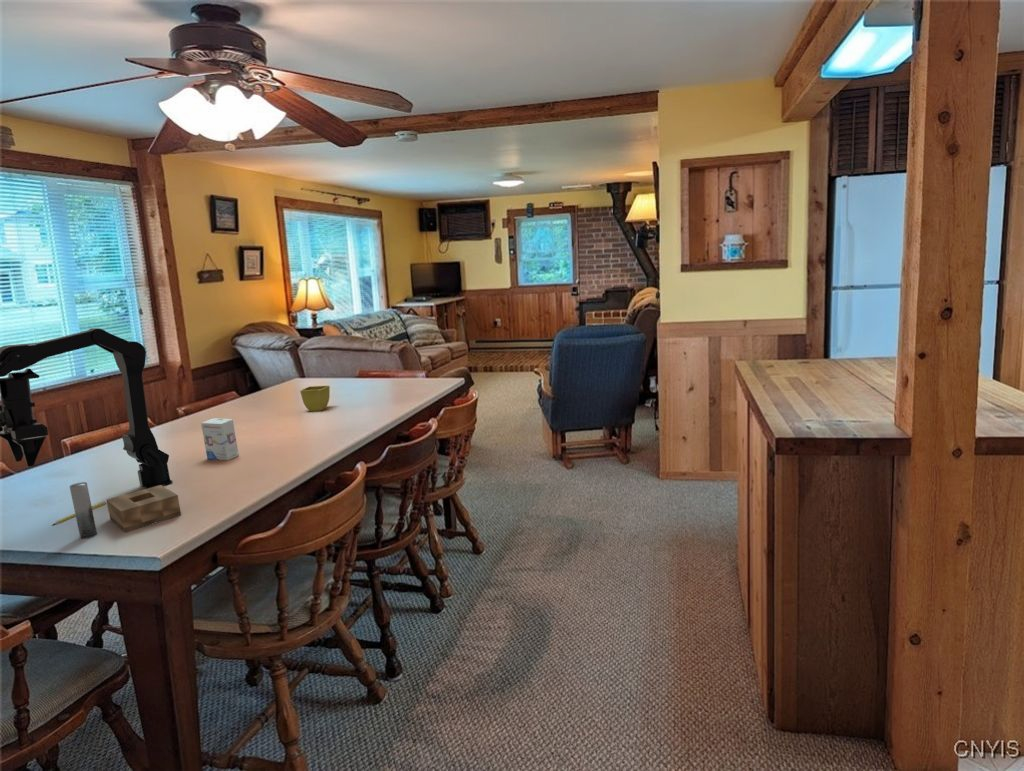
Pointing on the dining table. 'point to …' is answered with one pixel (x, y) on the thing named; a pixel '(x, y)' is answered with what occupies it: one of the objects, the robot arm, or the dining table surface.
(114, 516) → the socket block
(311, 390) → the flower pot
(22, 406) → the robot arm
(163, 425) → the dining table surface
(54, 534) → the dining table surface
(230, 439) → the ink box
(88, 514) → the pin
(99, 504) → the pencil
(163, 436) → the dining table surface
